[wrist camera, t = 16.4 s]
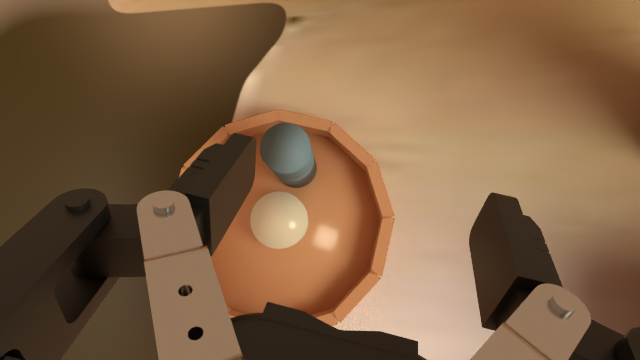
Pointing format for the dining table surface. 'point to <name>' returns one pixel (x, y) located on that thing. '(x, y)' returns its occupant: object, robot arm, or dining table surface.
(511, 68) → the dining table surface
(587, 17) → the dining table surface
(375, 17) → the dining table surface
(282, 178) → the bead peg
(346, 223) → the ring tray
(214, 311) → the robot arm
